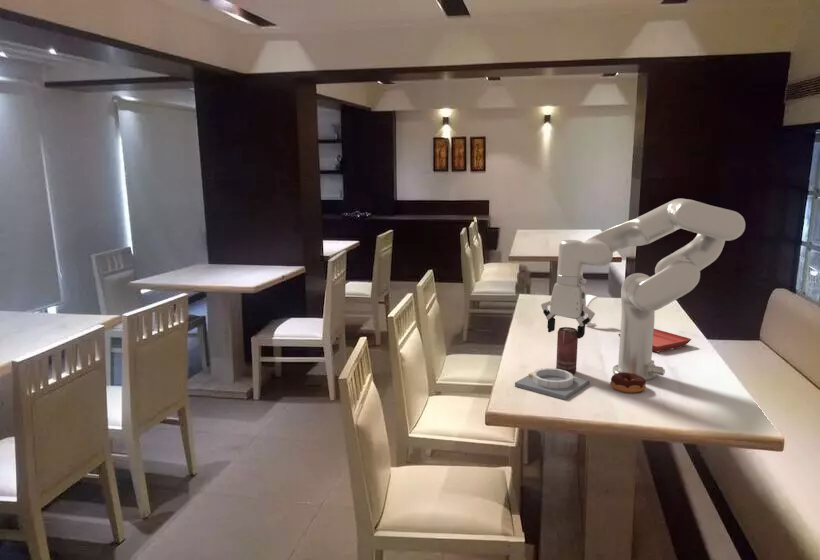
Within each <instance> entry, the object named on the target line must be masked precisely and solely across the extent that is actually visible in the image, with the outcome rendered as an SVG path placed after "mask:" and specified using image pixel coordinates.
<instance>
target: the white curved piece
mask: <svg viewBox="0 0 820 560" xmlns="http://www.w3.org/2000/svg"><path fill="white" fill-rule="evenodd" d="M597 298H598V296H596V295H592V294H586V307H587V308H589V306H590V304H591V303H592V302H593V301H594V300H597ZM583 317H584V318H585V319H586V318H587V317H588V314H587V313H585V316H583ZM577 323H578V322H577ZM577 325H579V323H578V324H577ZM596 325H597V324H596V323H595V322H592V321H590V322H589V323H587V324H586V325H585V328H588V327H593V326H596Z"/></svg>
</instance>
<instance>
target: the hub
mask: <svg viewBox="0 0 820 560" xmlns="http://www.w3.org/2000/svg"><path fill="white" fill-rule="evenodd" d="M590 381H591V380H590V379H586V378H583V377H578V376H576V375H575V376H574V374H571V373H569V372H568V371H565V370H561V369H556V368H553V367H546V368H545V367H544V368H538V369H535V370H534V371H532V372H529V373H528V374H527V375H526V376H524V377H523V378H520V379H519V380H517V381H515V382H514V387H516V388H520V389H523V390H527V391H530V392H535V393H538V394H542V395H545V396H550V397H553V398H557V399H561V400H563V401H564V400H565V401H566V400H568V399H569V398H570V397H572V396H574V395H575V394H576V393H578V392H579V391H580V390H582V389H584V388H585V387H587V386H588V385H590Z"/></svg>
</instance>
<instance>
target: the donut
mask: <svg viewBox="0 0 820 560" xmlns="http://www.w3.org/2000/svg"><path fill="white" fill-rule="evenodd" d="M646 385H647V380H645V379H644V378H643V377H641V376H639V375H636V374H634V373H626V372H622V373H616V374H613V375H612V377H611V378H610V386H611V387H612V388H613V389H615V390H616V391H619V392H622V393H625V394H630V393H631V394H633V393H634V394H637V393H641V392H643V391H645V390H646V387H647V386H646Z"/></svg>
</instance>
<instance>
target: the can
mask: <svg viewBox="0 0 820 560" xmlns="http://www.w3.org/2000/svg"><path fill="white" fill-rule="evenodd" d="M578 340H579V339H578V338H577V328H574V327H570V326H569V327H568V326H565V327H559V328H558V331H557V340H556V341H557V342H556V361H555V363H556V364H555V365H556V366H555V369H561V370H565V371H568V372H569V373H571V374H572V375H575V373H576V372H577V363H578Z"/></svg>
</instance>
